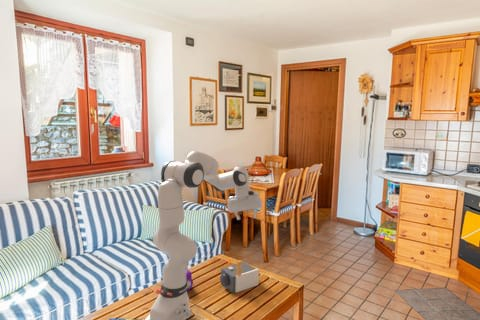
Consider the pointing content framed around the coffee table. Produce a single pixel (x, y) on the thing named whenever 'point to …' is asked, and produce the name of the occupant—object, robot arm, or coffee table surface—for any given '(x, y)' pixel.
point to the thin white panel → (245, 278)
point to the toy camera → (189, 279)
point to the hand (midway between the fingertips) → (246, 218)
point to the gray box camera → (233, 275)
